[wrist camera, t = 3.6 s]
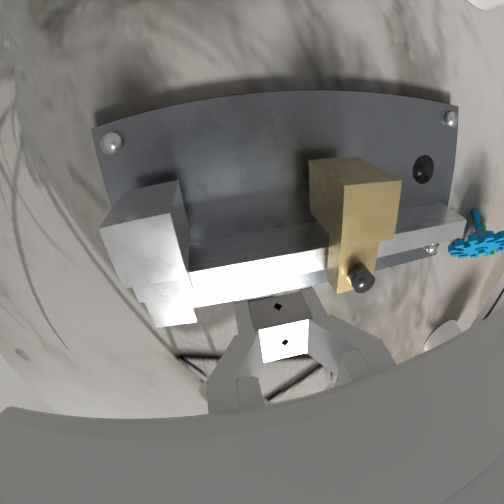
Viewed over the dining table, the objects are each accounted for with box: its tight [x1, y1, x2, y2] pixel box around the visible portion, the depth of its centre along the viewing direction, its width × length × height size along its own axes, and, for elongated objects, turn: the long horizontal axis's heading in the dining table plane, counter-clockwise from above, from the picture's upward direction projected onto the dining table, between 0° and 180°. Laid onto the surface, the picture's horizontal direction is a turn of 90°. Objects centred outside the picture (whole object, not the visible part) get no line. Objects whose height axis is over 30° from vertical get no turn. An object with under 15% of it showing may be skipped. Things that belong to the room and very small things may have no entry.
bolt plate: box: [91, 90, 458, 307], centre depth 22 cm, size 18×33×2 cm, turn 96°
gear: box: [448, 209, 504, 258], centre depth 27 cm, size 11×6×10 cm
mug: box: [424, 320, 462, 351], centre depth 37 cm, size 12×8×12 cm
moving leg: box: [309, 157, 402, 294], centre depth 19 cm, size 8×4×7 cm, turn 6°
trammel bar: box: [99, 180, 467, 328], centre depth 19 cm, size 8×31×7 cm, turn 96°
